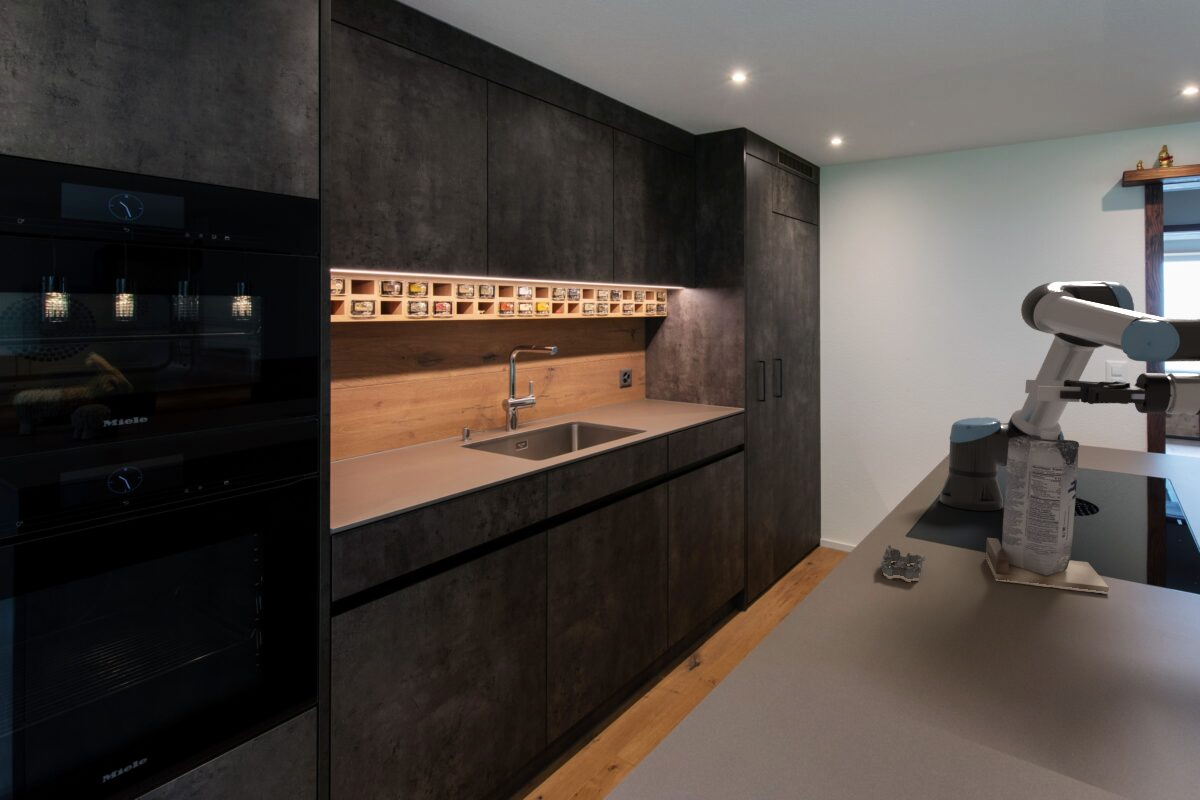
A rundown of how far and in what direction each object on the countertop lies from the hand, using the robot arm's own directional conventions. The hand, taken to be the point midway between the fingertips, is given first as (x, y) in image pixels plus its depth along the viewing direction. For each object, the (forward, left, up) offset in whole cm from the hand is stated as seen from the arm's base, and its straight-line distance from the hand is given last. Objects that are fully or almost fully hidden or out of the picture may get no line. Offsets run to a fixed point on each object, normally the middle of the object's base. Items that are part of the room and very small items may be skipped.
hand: (1031, 389), depth 136 cm
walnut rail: (-3, -5, -35) cm, 35 cm away
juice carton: (+3, -2, -35) cm, 35 cm away
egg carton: (-17, -18, -37) cm, 44 cm away
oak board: (+4, -2, -36) cm, 37 cm away
